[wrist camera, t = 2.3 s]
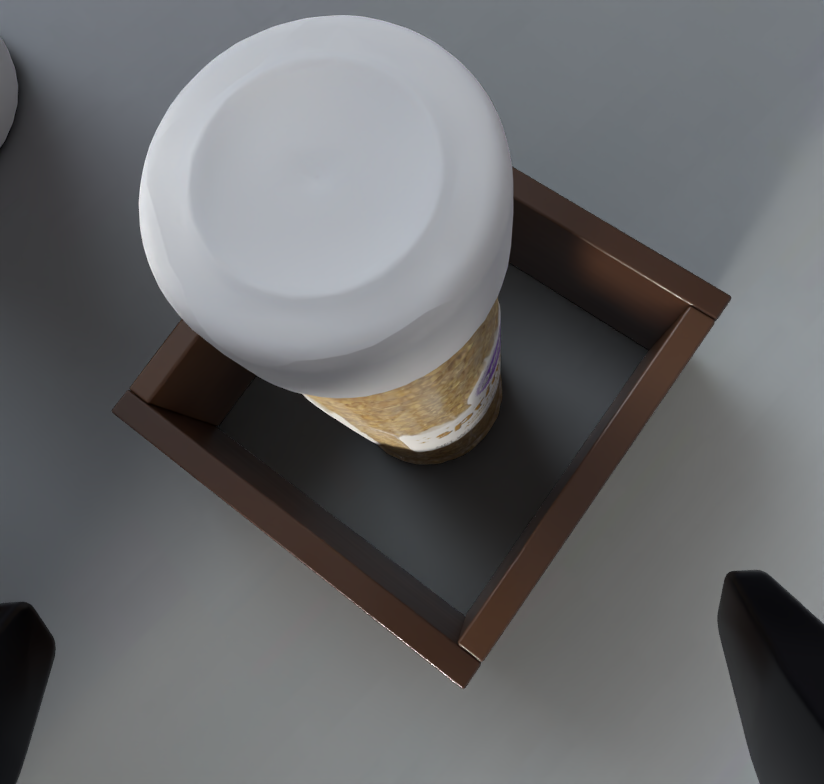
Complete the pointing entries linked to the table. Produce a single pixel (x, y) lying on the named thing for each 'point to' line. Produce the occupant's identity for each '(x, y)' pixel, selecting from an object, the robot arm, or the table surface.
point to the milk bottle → (7, 92)
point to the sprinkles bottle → (342, 226)
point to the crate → (558, 515)
